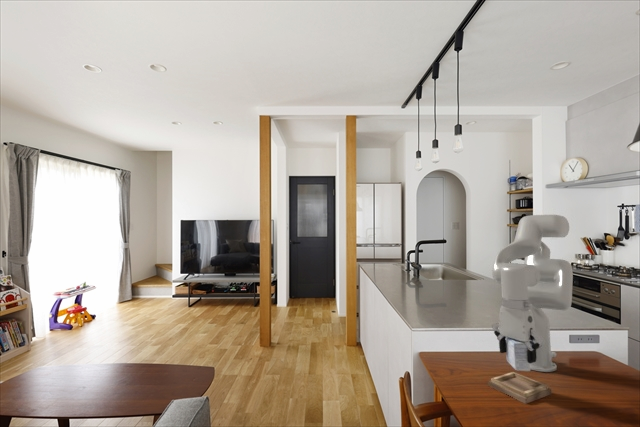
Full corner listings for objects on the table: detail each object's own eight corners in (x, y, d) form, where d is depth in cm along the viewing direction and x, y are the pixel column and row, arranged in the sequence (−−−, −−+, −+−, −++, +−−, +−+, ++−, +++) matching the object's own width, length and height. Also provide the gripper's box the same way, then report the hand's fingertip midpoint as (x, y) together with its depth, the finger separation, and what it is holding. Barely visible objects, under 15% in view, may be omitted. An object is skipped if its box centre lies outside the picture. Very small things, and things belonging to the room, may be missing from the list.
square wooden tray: (513, 377, 115) (513, 370, 115) (551, 393, 104) (551, 385, 104) (488, 386, 109) (487, 378, 110) (525, 403, 98) (524, 395, 98)
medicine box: (530, 371, 102) (529, 343, 103) (515, 370, 103) (513, 342, 104) (520, 361, 110) (519, 335, 111) (506, 361, 111) (505, 335, 112)
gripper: (549, 308, 102) (552, 364, 101) (498, 298, 117) (500, 347, 116) (534, 310, 98) (537, 369, 97) (484, 300, 114) (485, 350, 113)
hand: (517, 357), depth 107 cm, fingers closed on medicine box, 9 cm apart
